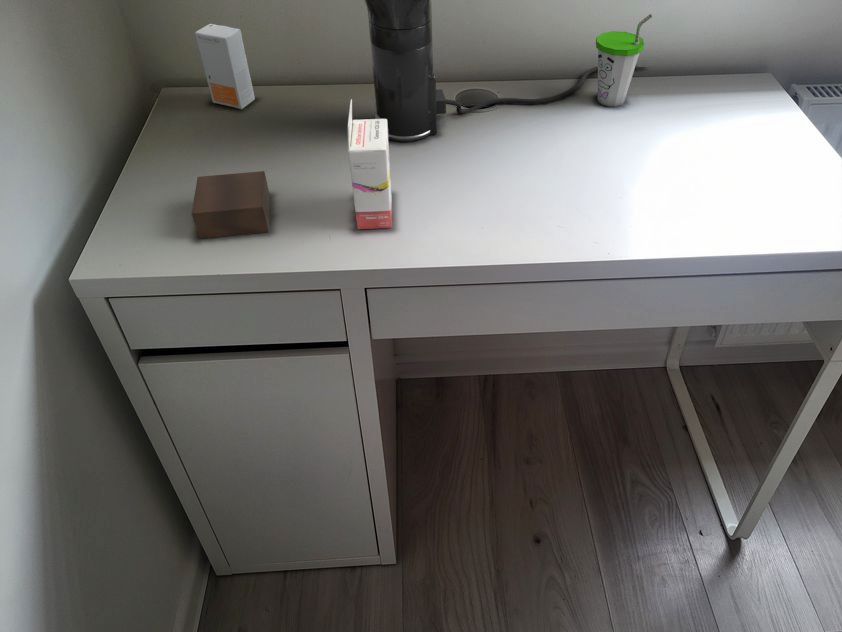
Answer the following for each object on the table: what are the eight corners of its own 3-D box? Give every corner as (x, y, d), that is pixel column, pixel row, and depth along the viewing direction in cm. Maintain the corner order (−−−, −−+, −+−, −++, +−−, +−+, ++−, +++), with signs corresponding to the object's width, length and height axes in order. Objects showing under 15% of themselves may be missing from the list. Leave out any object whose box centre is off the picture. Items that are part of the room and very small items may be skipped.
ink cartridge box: (393, 229, 96) (385, 127, 85) (356, 230, 95) (344, 129, 85) (393, 194, 102) (385, 95, 91) (358, 195, 101) (347, 96, 91)
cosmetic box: (211, 103, 121) (193, 31, 112) (227, 93, 124) (209, 22, 115) (242, 110, 119) (225, 38, 111) (256, 99, 122) (241, 28, 113)
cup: (578, 98, 123) (589, 8, 113) (610, 86, 127) (624, -3, 116) (610, 115, 119) (625, 23, 108) (643, 103, 122) (660, 12, 112)
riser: (269, 195, 101) (264, 170, 98) (268, 232, 95) (262, 207, 92) (204, 201, 100) (197, 176, 97) (199, 238, 94) (191, 213, 91)
